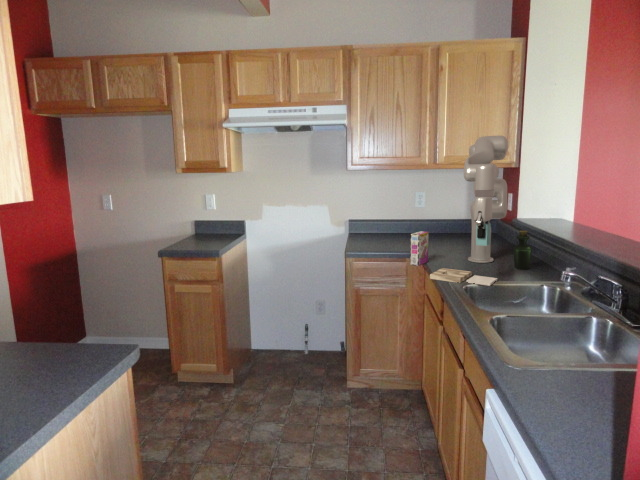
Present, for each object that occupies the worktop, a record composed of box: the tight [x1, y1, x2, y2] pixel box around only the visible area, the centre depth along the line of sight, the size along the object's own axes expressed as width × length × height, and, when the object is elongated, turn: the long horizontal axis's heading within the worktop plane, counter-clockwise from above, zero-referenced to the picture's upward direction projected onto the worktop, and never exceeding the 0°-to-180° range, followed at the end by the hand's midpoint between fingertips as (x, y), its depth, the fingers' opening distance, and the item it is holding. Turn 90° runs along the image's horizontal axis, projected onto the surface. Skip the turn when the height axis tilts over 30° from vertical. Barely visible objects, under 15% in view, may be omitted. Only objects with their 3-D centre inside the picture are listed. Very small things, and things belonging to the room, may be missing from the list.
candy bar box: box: [409, 230, 430, 267], centre depth 227 cm, size 11×5×16 cm, turn 141°
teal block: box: [476, 222, 492, 246], centre depth 187 cm, size 4×4×9 cm
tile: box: [465, 274, 498, 287], centre depth 191 cm, size 10×10×1 cm
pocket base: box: [429, 267, 473, 284], centre depth 199 cm, size 14×14×2 cm
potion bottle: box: [512, 230, 533, 271], centre depth 210 cm, size 8×8×18 cm
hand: (483, 236), depth 187 cm, fingers closed on teal block, 4 cm apart
